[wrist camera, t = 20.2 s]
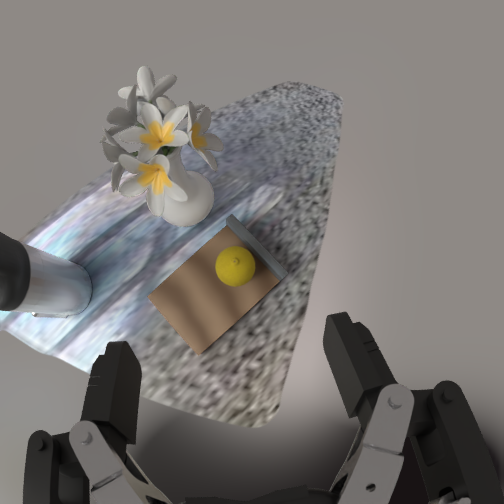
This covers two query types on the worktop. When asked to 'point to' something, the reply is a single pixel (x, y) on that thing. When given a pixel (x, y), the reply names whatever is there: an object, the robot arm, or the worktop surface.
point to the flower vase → (161, 151)
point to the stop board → (214, 288)
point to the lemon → (235, 266)
